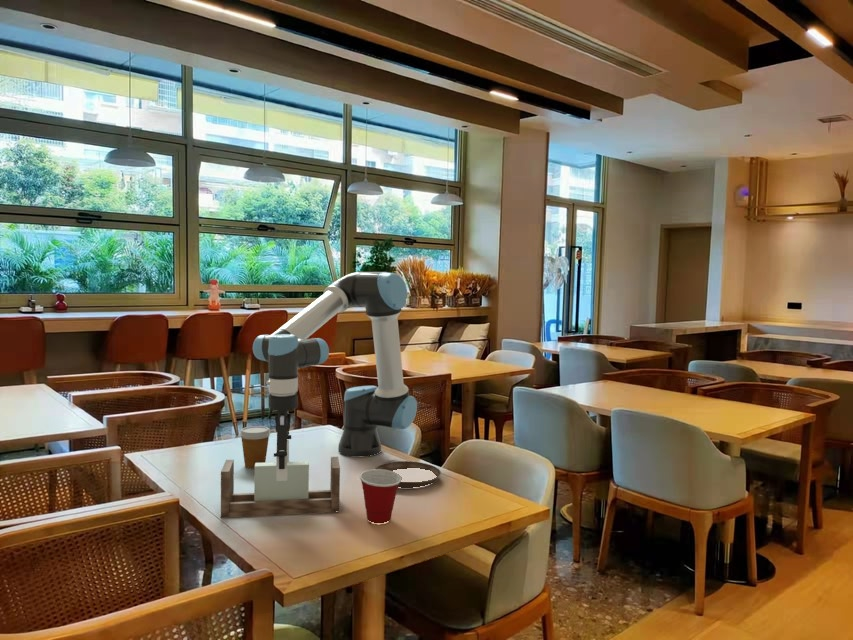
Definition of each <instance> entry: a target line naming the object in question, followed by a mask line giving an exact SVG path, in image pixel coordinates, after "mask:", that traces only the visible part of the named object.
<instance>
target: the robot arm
mask: <svg viewBox="0 0 853 640" xmlns="http://www.w3.org/2000/svg"><path fill="white" fill-rule="evenodd" d="M407 299H408V290H407V286H406V283H405V281H404V279H403V278H402V277H401V276H400V275H399V274H398V273H394V272H389V271H356V272H351V273H348V274H346V275H343V276H342V277H340V278H338V279H337V280H335V281H334V282H332V283H331V284H329V285H328V286H327V287H325V289H324V290H323V294H322V295H320V296H319V297H318V298H317V299H315V300H314V301H313V302H311V303H310V304H309V305H308V306H306V307H304V309H302V310H301V311H300V312H299V313H297V314H295V315H294V316H293V317H291V318H290V319H289V320H288V321H287V322H286V323H284V324H283V325H281V326H280V327H279V328H278V329H276V331H275V330H274V332H273V333H271V334H260V335H258V336H257V337H256V338H255V339H254V341H253V344H252V352H253V356H254V357H255V358H256V359H257V360H260V361H264V362H267V363H268V380H267V381H265V384H266V385H268V393H269V395H268V401H267V403H268V408H269V409H270V410H273V411H278V413H276V414H275V416H274V423H275V432H276V452H275V453H273V458H274V457H275V458H276V459H275V460H276V461H275V462H276V481H287V462H290V440H292V435H290V426H291V419H292V414H291V413H289V411H290V410H294V409H296V408H298V405H299V404H298V403H299V402H298V401H299V400H298V393H297V392H298V390H299V375H298V373H299V369H302V368H308V367H313V366H314V367H315V366H316V367H317V366H318V365H321V364H323V363H325V362H326V361H327V360H328V358H329V356H330V355H329V354H330V348H329V346H328V343H327V342H326V341H325V340H324V339H323V338H320V337H317V338H316V337H311V338H310V336H312V335H313V334H315V332H316V331H318V330H319V329H320V328H322V327H323V325H325V324H326V323H328V322H329V320H331V319H332V318H333V317H335V316H336V315H337V314H338V313H343V312H346V311H347V310H348V309H349V308H354V307H356V308H357V307H360V308H365V314H366V317H368V318H369V319H371V328H372V329H371V330H372V337H373V345H374V356H375V366H376V377H377V385H378V386H377V385H361V386H353V387H349V388H347V389H345V391H344V397H343V399H344V400H343V432H342V435H341V437H340V440H339V443H338V448H337V449H338V453H339V452H340V453H341V454H340V453H339V454H340V455H343V456H346V455H348V456H347V457H351V456H368V457H371V456H370V455H373V456H375V455H374V454H377V453H379V452H380V451H381V452H382V443H381V440H380V437H379V433H378V429H377V426H378V427H383V428H388V429H392V430H406V429H407V428H409V427H410V426H411V425H412V424H413V421H414V420H415V418H416V415H417V411H418V402H417V398H416V397H414V396H412V395H410V389H409V387H408V386H407V385H406V384H405V382H404V375H403V374H404V373H403V372H404V371H403V363H402V353H401V352H402V350H401V343H400V342H401V340H400V331H399V321H398V317H399V316H400V314H401V313H402V309H403V308H404V307H405V305H406V303H407ZM381 452H380V453H381ZM380 453H379V454H380ZM377 455H378V454H377Z"/></svg>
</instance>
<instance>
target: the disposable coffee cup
mask: <svg viewBox="0 0 853 640" xmlns="http://www.w3.org/2000/svg"><path fill="white" fill-rule="evenodd" d="M239 436H240V437H241V446H242V454H243V460H244V462H243V463H244V467H245V468H246V469H250V468H251V470H252V469H253V470H255V463H266V461H267V452H268V445H269V439H270V438H269V437H270V436H271V431H270V428H269V427H267V426H262V425H261V426H260V425H255V426H254V425H252V426H246V427H243V428H241V431H240V433H239Z"/></svg>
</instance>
